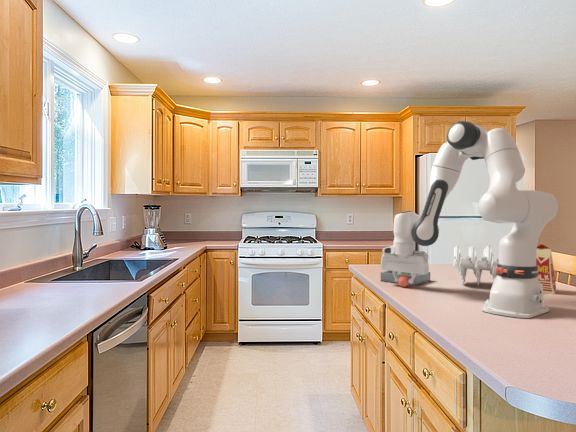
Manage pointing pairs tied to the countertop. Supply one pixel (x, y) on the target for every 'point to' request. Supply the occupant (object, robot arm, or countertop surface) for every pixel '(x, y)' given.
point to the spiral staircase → (475, 262)
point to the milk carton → (545, 269)
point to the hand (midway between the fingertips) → (404, 282)
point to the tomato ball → (403, 281)
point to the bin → (419, 278)
